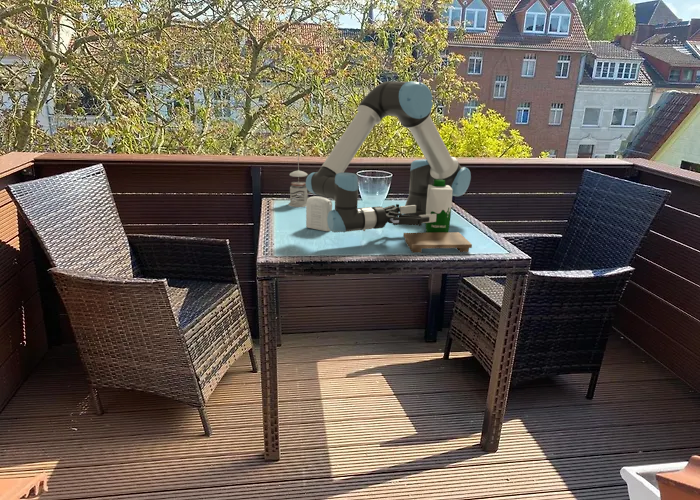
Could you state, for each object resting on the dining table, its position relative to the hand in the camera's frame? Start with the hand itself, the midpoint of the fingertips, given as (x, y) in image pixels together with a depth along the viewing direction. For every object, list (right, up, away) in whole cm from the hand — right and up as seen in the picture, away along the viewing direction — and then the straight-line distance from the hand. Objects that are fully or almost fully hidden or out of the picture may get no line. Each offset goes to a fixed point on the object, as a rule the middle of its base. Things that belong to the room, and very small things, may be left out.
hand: (425, 213), depth 177 cm
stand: (+2, -12, -8) cm, 15 cm away
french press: (-49, +7, +47) cm, 68 cm away
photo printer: (-39, -5, +10) cm, 40 cm away
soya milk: (+5, -8, +5) cm, 11 cm away
